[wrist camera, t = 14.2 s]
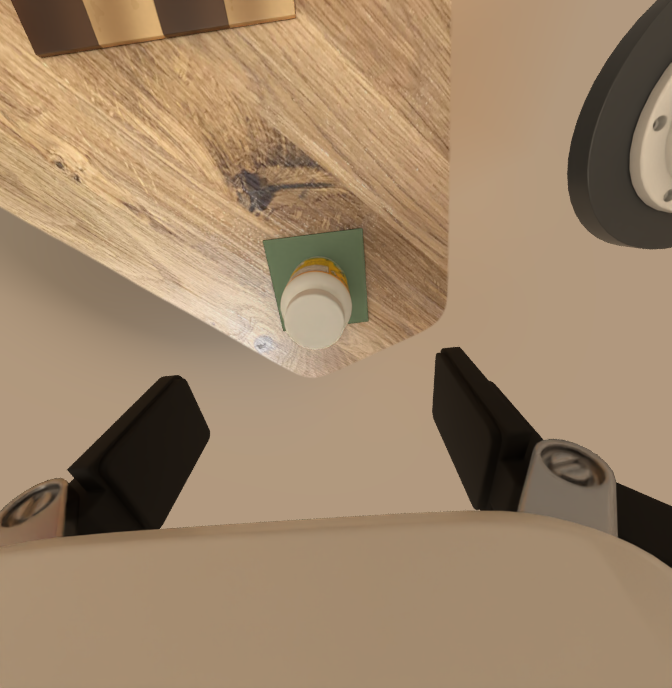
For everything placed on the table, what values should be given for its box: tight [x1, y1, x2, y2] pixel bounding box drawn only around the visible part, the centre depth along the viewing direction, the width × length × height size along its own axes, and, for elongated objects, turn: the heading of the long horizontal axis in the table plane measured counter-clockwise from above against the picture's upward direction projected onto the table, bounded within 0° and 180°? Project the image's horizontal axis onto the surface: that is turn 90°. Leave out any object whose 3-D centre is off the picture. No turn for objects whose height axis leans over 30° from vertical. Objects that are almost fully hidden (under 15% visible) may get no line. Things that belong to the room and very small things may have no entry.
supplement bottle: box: [280, 257, 352, 350], centre depth 22 cm, size 5×5×10 cm
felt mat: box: [263, 228, 368, 331], centre depth 26 cm, size 9×9×1 cm
